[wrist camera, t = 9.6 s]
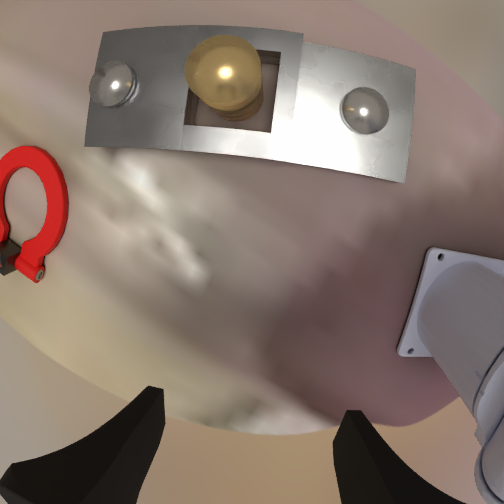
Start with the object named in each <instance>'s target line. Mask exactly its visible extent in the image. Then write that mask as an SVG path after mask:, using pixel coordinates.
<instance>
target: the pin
mask: <svg viewBox="0 0 504 504" xmlns="http://www.w3.org/2000/svg"><path fill="white" fill-rule="evenodd" d="M185 78H186V81H187V84H188V86H189V87H190V89H191V90H192V91H193V92H194V93H195V94H196V95H197V96H198V97H199V98H200V99H201V100H202V101H204V102H205V103H206V104H207V105H208V106H209V107H210V108H211V109H213V110H214V111H215V112H216V113H217V114H218V115H219V116H220V117H222V118H224V119H226V120H229V121H244V120H247V119H249V118H251V117H252V116H254V115H255V114H256V113H257V112H258V110H259V109H260V107H261V105H262V103H263V85H262V72H261V61H260V57H259V55H258V53H257V51H256V49H255V48H254V47H253V46H252V45H251V44H250V43H249V42H247V41H246V40H244V39H242V38H240V37H237V36H233V35H218V36H213V37H210V38H208V39H206V40H204V41H202V42H201V43H199V44H198V45H197V46H196V47H195V48H194V49H193V50H192V51H191V53H190V54H189V56H188V58H187V61H186V64H185Z"/></svg>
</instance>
